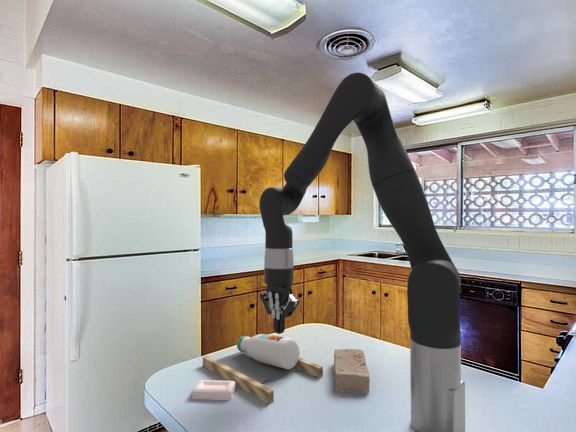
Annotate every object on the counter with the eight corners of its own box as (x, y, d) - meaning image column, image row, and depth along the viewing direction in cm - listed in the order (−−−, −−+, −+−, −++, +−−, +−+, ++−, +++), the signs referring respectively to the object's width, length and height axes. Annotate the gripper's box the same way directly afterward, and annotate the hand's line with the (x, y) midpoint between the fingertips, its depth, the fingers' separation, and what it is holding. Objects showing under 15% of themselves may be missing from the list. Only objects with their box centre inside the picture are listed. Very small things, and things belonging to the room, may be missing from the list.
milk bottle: (279, 347, 88) (229, 337, 101) (285, 375, 89) (235, 361, 102) (297, 333, 94) (248, 326, 107) (303, 360, 95) (253, 349, 108)
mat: (295, 368, 94) (295, 367, 94) (252, 388, 84) (252, 386, 84) (250, 349, 109) (250, 348, 109) (208, 363, 98) (208, 362, 98)
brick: (370, 394, 81) (370, 374, 81) (335, 392, 82) (335, 373, 82) (363, 365, 98) (363, 348, 98) (333, 364, 99) (333, 347, 99)
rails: (322, 376, 90) (322, 366, 90) (268, 403, 77) (268, 392, 77) (255, 347, 110) (255, 340, 110) (202, 365, 97) (202, 357, 97)
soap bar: (230, 401, 79) (230, 390, 79) (191, 400, 79) (191, 389, 79) (235, 389, 84) (235, 379, 84) (199, 388, 85) (199, 379, 85)
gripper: (307, 266, 86) (307, 335, 86) (272, 261, 96) (272, 323, 95) (286, 269, 81) (286, 343, 81) (251, 264, 90) (251, 330, 90)
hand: (279, 332), depth 88 cm, fingers closed
